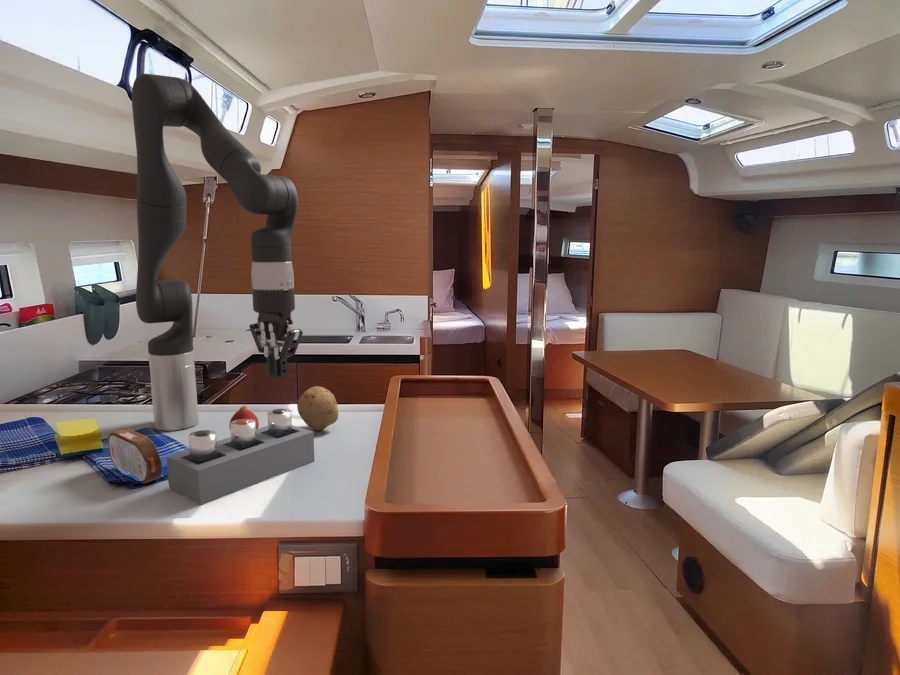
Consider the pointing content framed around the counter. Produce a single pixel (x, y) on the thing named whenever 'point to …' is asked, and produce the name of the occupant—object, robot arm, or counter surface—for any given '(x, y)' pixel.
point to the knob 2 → (279, 422)
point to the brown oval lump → (318, 408)
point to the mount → (239, 464)
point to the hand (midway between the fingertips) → (277, 376)
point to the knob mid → (243, 433)
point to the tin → (135, 454)
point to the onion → (244, 415)
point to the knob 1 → (202, 445)
